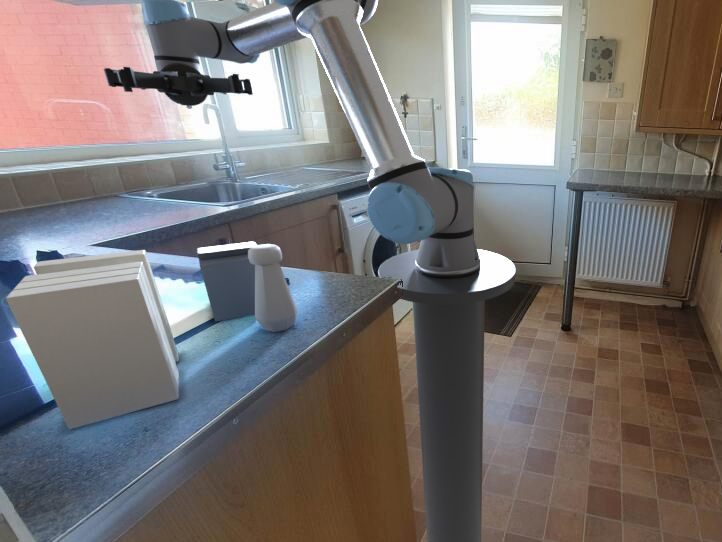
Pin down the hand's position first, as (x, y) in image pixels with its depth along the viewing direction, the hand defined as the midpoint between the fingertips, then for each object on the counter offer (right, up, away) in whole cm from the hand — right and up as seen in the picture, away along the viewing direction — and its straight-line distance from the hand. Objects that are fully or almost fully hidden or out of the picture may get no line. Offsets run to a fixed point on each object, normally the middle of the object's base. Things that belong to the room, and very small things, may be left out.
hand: (185, 80), depth 65 cm
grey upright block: (+6, -37, +4) cm, 37 cm away
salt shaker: (+16, -39, -1) cm, 43 cm away
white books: (+8, -46, -18) cm, 50 cm away
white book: (+4, -44, -13) cm, 46 cm away
